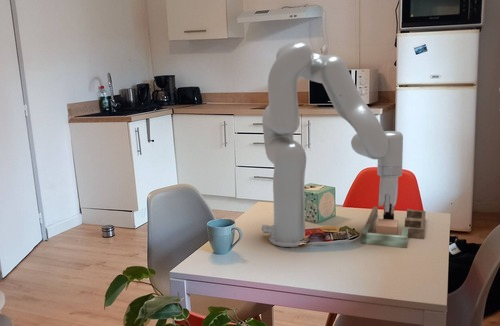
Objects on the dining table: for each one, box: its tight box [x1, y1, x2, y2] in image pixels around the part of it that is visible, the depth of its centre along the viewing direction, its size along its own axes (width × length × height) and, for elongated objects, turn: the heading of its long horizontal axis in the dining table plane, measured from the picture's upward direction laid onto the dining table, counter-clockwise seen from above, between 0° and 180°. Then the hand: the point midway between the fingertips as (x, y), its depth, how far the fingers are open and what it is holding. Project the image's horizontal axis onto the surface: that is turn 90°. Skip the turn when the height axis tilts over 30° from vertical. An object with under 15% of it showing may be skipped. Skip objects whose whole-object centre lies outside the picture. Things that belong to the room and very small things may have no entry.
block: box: [375, 218, 399, 235], centre depth 150 cm, size 6×7×5 cm
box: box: [360, 206, 426, 248], centre depth 157 cm, size 18×30×3 cm, turn 159°
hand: (388, 225), depth 158 cm, fingers closed
